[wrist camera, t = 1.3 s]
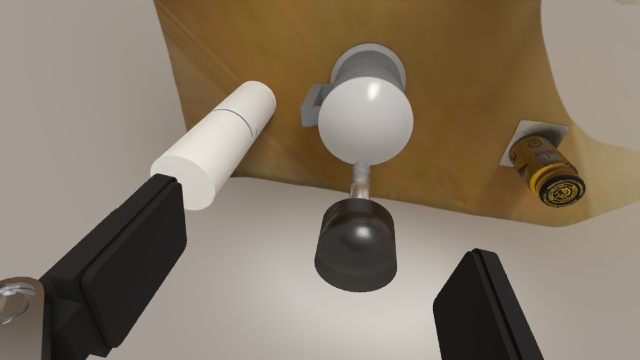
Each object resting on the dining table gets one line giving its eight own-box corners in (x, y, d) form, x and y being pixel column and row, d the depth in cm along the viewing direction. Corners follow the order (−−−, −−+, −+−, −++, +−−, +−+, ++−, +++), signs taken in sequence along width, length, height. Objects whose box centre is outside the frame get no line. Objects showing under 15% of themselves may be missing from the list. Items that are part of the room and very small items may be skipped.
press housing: (409, 41, 45) (423, 73, 31) (402, 116, 51) (411, 169, 38) (315, 44, 47) (291, 75, 34) (320, 116, 53) (301, 166, 40)
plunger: (391, 143, 26) (400, 239, 17) (388, 191, 29) (393, 295, 20) (333, 143, 27) (311, 234, 18) (335, 189, 30) (317, 288, 21)
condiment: (498, 164, 54) (525, 208, 44) (520, 119, 49) (556, 157, 39) (542, 170, 53) (579, 216, 43) (569, 125, 48) (618, 165, 38)
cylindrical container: (269, 77, 51) (199, 152, 31) (280, 118, 55) (224, 208, 34) (230, 84, 52) (138, 158, 32) (243, 122, 56) (168, 211, 36)
